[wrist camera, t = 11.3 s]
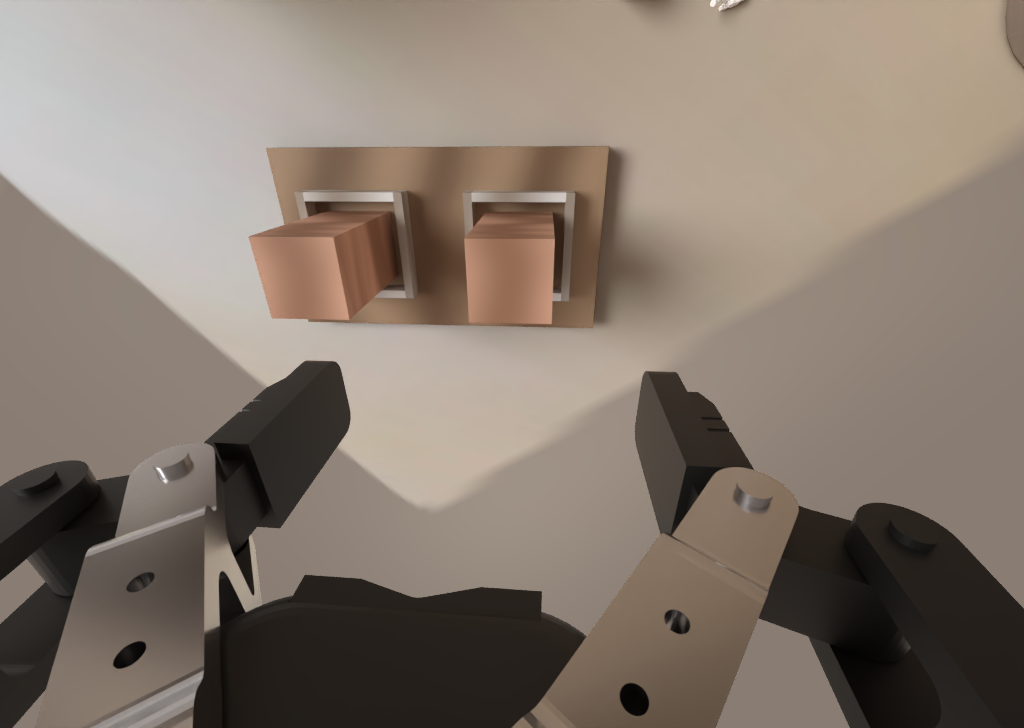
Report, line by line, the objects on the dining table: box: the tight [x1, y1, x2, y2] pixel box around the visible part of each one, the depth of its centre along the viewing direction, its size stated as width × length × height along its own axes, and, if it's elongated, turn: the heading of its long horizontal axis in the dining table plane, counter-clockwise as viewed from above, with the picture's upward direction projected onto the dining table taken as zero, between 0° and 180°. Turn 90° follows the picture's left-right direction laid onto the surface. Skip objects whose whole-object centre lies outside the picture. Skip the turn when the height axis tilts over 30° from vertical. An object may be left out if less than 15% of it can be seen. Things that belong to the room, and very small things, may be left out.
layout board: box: [249, 146, 609, 328], centre depth 24 cm, size 20×11×9 cm, turn 90°
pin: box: [464, 212, 555, 324], centre depth 23 cm, size 4×4×8 cm
